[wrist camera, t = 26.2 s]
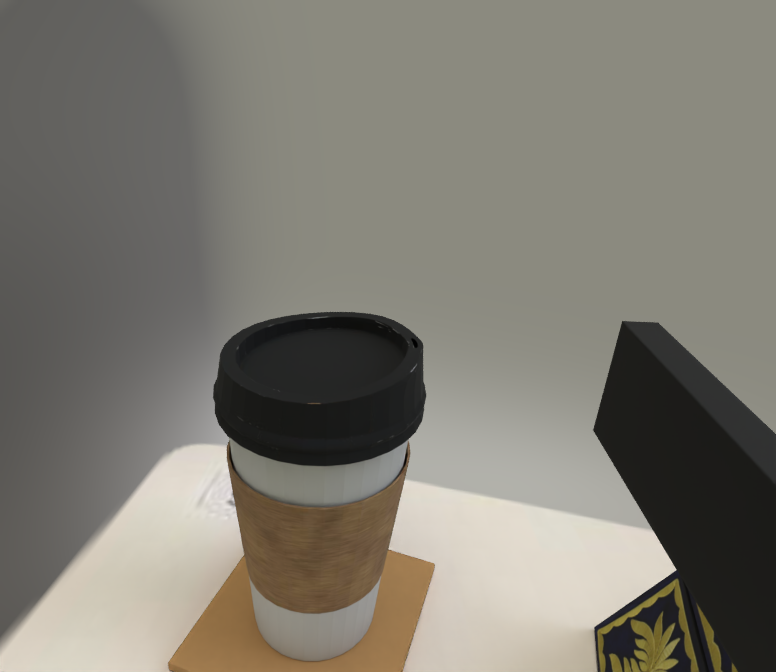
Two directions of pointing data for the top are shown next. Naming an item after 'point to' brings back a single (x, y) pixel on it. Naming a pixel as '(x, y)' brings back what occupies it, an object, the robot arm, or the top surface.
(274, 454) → the coffee cup
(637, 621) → the decorative box
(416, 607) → the coaster
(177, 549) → the top surface
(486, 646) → the top surface
